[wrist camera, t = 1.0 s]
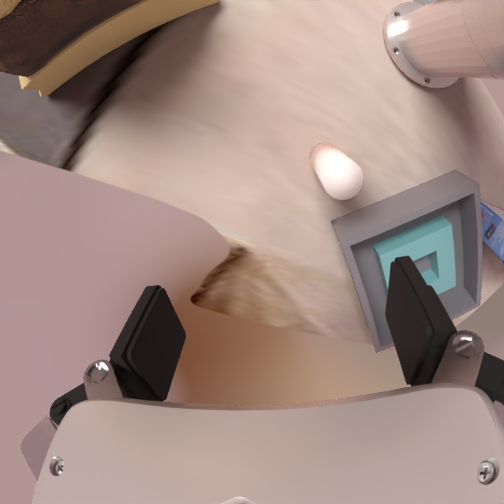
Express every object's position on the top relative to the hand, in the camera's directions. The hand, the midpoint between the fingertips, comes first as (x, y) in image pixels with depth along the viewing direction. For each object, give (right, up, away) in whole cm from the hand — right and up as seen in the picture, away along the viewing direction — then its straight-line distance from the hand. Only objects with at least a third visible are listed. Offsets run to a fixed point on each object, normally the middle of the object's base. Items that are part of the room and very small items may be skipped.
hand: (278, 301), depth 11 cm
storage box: (+24, +1, +29) cm, 38 cm away
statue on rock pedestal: (-20, +34, +13) cm, 42 cm away
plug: (+8, +14, +23) cm, 28 cm away
